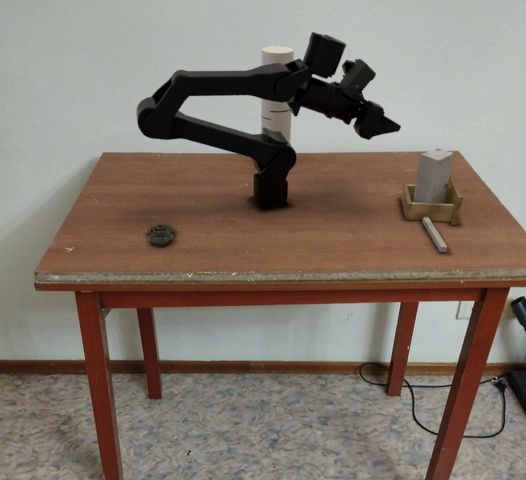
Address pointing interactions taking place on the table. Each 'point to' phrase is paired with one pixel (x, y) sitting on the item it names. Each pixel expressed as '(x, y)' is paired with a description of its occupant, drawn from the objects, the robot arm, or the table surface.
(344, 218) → the table surface
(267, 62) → the cylindrical container
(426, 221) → the ruler
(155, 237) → the corroded twin loop
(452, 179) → the wooden tray frame
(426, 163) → the cosmetic box
